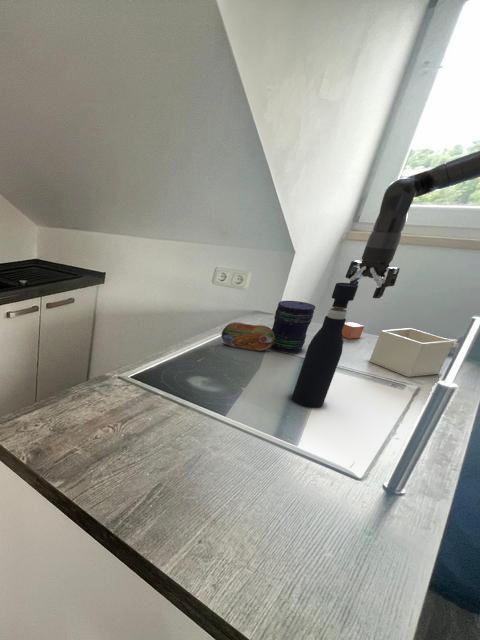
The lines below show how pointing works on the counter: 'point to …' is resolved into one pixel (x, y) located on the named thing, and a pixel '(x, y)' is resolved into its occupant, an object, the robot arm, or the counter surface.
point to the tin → (248, 336)
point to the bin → (411, 352)
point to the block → (352, 330)
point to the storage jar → (291, 325)
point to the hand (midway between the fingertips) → (363, 294)
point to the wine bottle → (324, 351)
